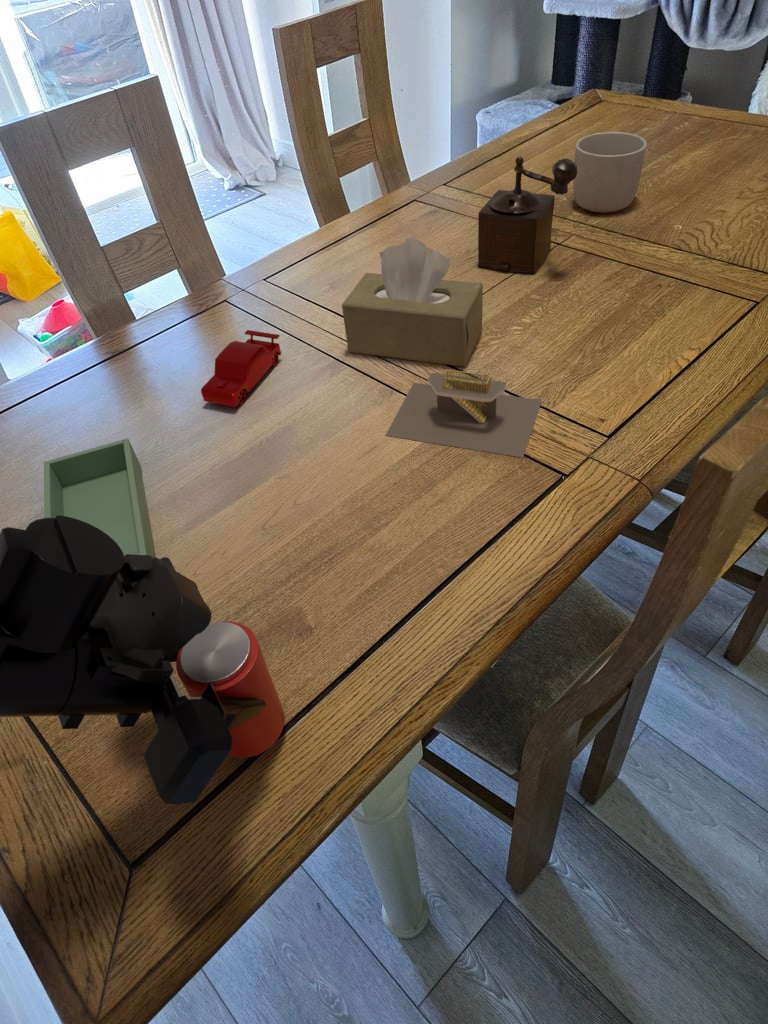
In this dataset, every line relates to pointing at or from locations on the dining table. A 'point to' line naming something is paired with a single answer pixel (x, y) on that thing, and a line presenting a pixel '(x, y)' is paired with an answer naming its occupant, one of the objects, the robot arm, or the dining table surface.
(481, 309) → the tissue box
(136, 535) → the bin
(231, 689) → the can
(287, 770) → the dining table surface
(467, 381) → the platform
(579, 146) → the planter
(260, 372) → the toy car
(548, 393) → the dining table surface
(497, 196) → the manual coffee grinder
